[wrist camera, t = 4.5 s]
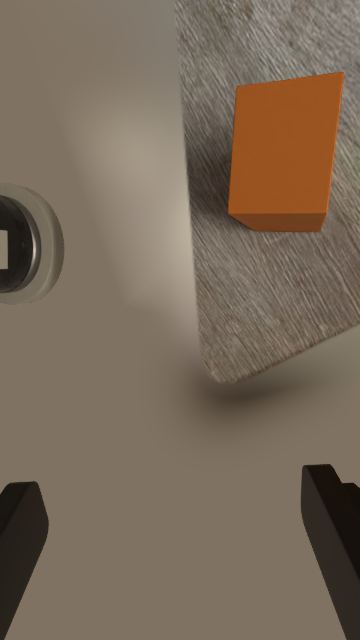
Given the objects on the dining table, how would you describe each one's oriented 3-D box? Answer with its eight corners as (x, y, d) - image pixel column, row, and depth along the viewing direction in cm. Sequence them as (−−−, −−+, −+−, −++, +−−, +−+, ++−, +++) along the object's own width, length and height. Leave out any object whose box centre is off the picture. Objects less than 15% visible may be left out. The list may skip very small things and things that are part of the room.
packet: (254, 231, 22) (227, 213, 14) (261, 149, 21) (235, 86, 13) (319, 232, 20) (327, 213, 13) (330, 144, 19) (344, 70, 12)
